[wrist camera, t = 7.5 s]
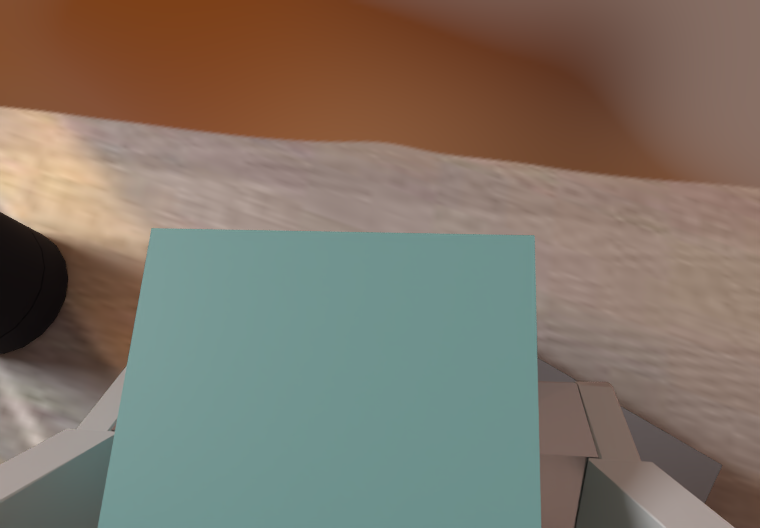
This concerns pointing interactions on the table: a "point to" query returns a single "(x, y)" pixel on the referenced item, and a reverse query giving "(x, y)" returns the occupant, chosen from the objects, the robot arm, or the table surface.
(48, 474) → the robot arm
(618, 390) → the table surface
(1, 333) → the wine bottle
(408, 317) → the teal block
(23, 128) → the table surface
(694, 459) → the plate
